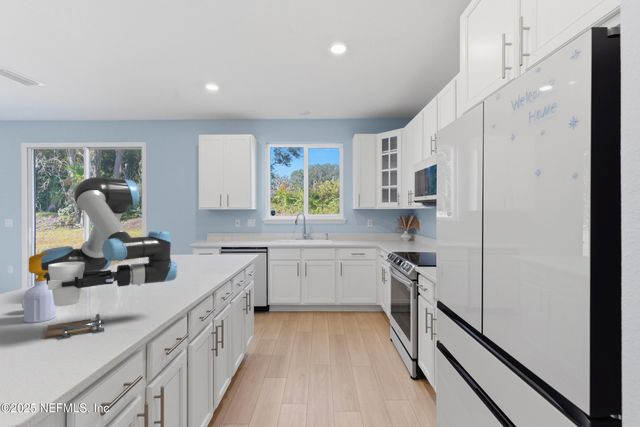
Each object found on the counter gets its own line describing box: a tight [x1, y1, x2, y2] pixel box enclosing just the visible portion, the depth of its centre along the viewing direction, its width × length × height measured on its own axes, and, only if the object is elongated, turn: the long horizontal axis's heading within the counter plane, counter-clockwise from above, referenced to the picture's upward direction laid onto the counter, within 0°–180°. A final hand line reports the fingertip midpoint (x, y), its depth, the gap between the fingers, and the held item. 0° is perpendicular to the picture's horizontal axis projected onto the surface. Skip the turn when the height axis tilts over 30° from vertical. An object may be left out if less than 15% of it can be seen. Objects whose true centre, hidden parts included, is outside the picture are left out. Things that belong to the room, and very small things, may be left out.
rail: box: [57, 313, 105, 341], centre depth 110 cm, size 13×12×3 cm
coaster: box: [44, 318, 92, 340], centre depth 109 cm, size 12×12×1 cm
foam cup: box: [48, 262, 85, 307], centre depth 106 cm, size 10×9×13 cm
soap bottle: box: [23, 252, 57, 324], centre depth 119 cm, size 9×9×25 cm
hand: (49, 282), depth 103 cm, fingers closed on foam cup, 9 cm apart
